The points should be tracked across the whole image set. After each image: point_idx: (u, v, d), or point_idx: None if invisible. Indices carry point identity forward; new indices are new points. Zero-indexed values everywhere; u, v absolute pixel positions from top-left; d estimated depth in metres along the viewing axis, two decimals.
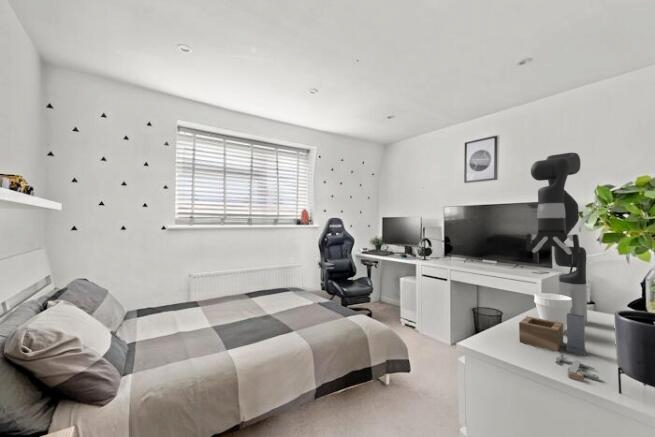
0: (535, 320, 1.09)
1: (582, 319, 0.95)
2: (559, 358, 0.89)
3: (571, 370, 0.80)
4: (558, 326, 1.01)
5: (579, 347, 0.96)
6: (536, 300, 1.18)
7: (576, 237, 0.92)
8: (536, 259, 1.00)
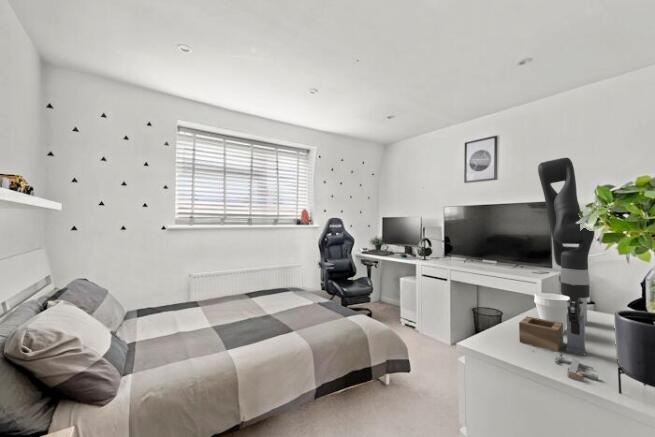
0: (535, 320, 1.09)
1: (582, 319, 0.95)
2: (558, 358, 0.89)
3: (571, 370, 0.80)
4: (558, 326, 1.01)
5: (579, 347, 0.96)
6: (536, 300, 1.18)
7: None
8: (579, 330, 0.96)
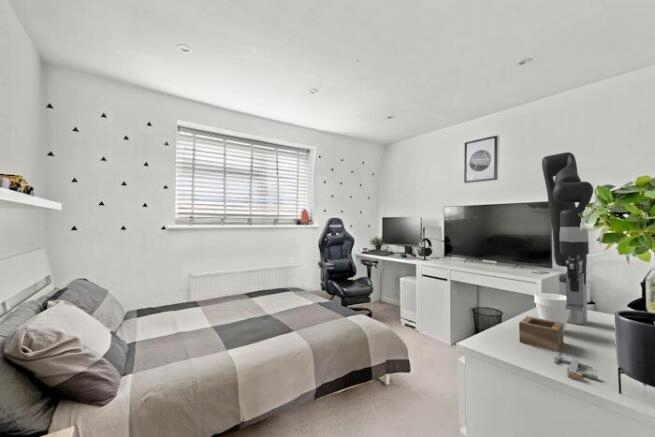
0: (535, 320, 1.09)
1: (581, 276, 0.96)
2: (557, 358, 0.89)
3: (570, 370, 0.80)
4: (558, 326, 1.01)
5: (578, 304, 0.96)
6: (536, 300, 1.18)
7: None
8: (578, 287, 0.96)
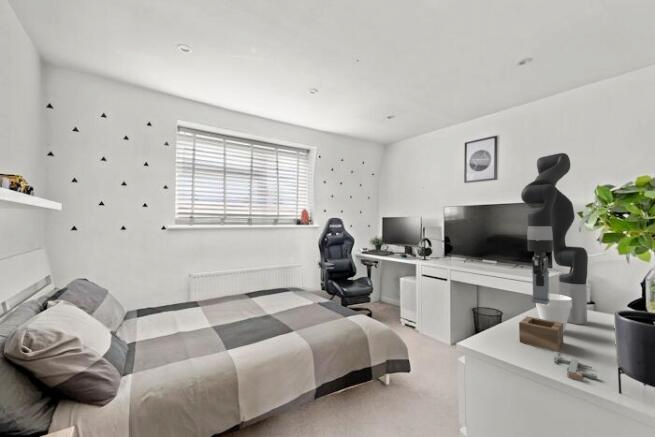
0: (535, 320, 1.09)
1: (546, 272, 1.04)
2: (557, 358, 0.89)
3: (570, 370, 0.80)
4: (558, 326, 1.01)
5: (543, 298, 1.04)
6: None
7: (547, 260, 1.09)
8: (543, 282, 1.04)
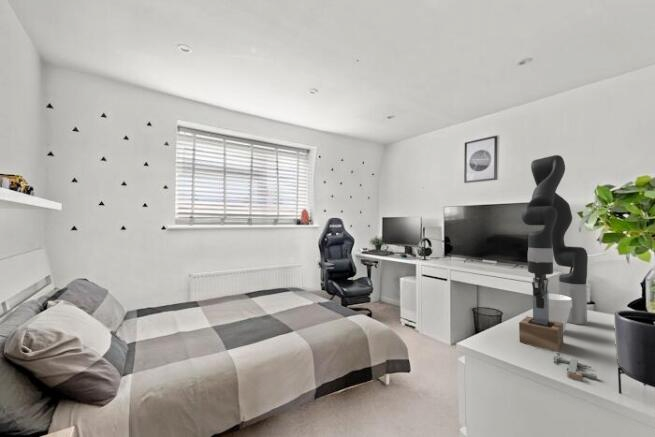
0: None
1: (546, 294, 1.03)
2: (556, 357, 0.90)
3: (570, 370, 0.80)
4: (558, 326, 1.01)
5: (543, 320, 1.04)
6: None
7: (547, 281, 1.09)
8: (543, 304, 1.04)
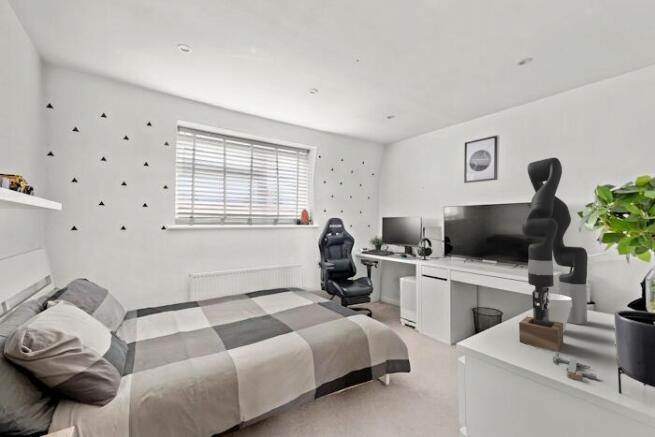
0: None
1: (546, 312, 1.03)
2: (555, 357, 0.90)
3: (570, 370, 0.80)
4: (558, 326, 1.01)
5: None
6: None
7: (548, 290, 1.09)
8: (542, 316, 1.02)
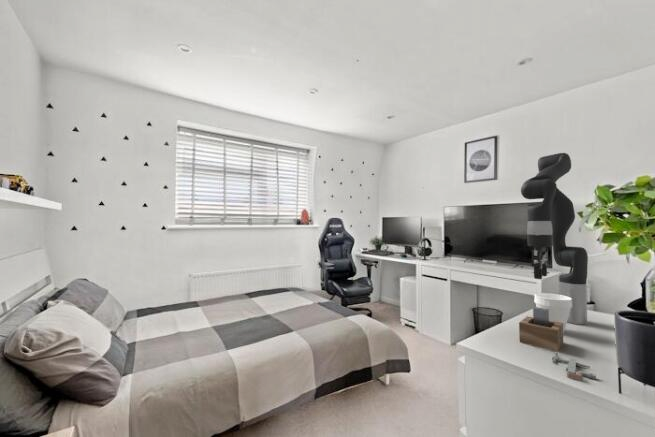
0: None
1: (546, 312, 1.03)
2: (555, 357, 0.90)
3: (570, 370, 0.81)
4: (558, 326, 1.01)
5: None
6: (536, 300, 1.18)
7: (547, 250, 1.09)
8: (541, 275, 1.02)
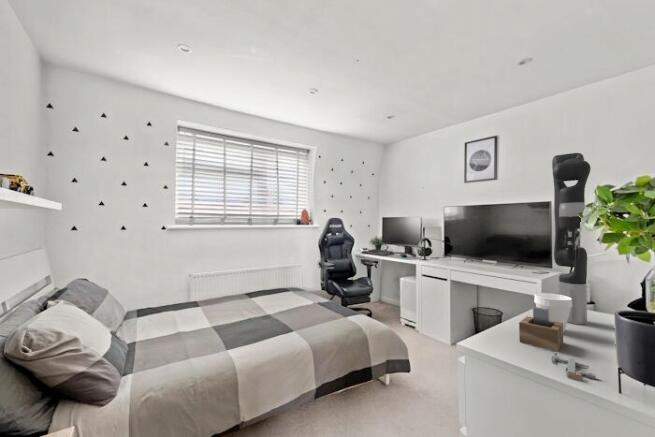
0: None
1: (546, 312, 1.03)
2: (554, 357, 0.90)
3: (569, 370, 0.81)
4: (558, 326, 1.01)
5: None
6: (536, 300, 1.18)
7: None
8: (575, 256, 1.01)
